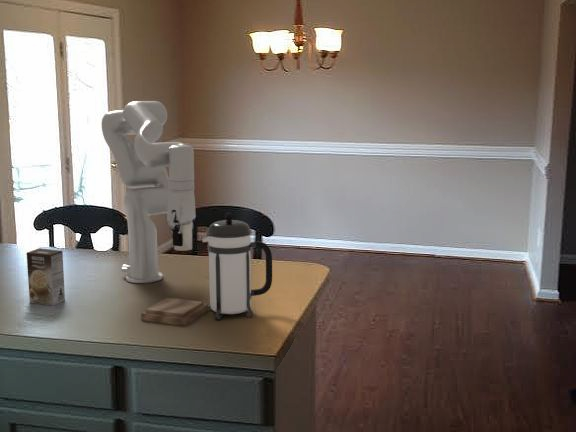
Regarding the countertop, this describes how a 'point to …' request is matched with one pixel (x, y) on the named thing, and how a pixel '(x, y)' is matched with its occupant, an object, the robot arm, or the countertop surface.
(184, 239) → the canister
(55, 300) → the coffee box
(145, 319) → the plinth
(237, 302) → the coffee press
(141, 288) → the countertop surface
